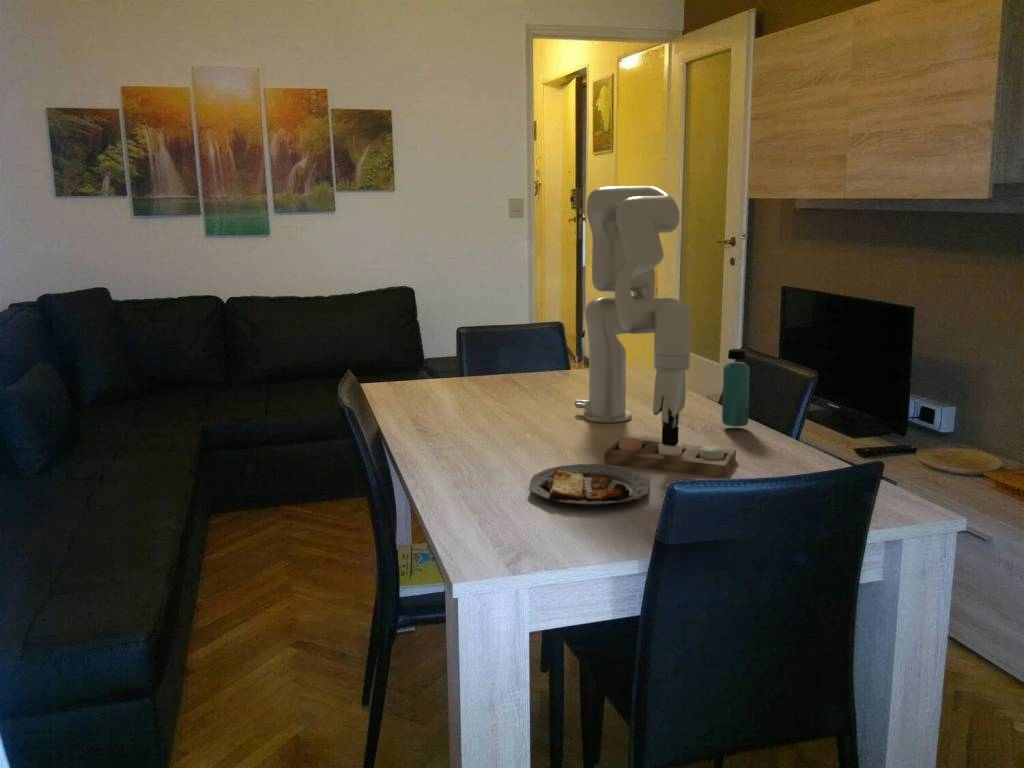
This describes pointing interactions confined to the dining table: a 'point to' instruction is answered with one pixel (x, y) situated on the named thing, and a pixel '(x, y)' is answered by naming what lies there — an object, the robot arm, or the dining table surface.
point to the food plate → (570, 485)
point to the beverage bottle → (735, 390)
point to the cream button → (670, 449)
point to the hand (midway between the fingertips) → (670, 443)
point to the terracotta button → (630, 444)
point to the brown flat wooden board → (670, 459)
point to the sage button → (712, 453)
